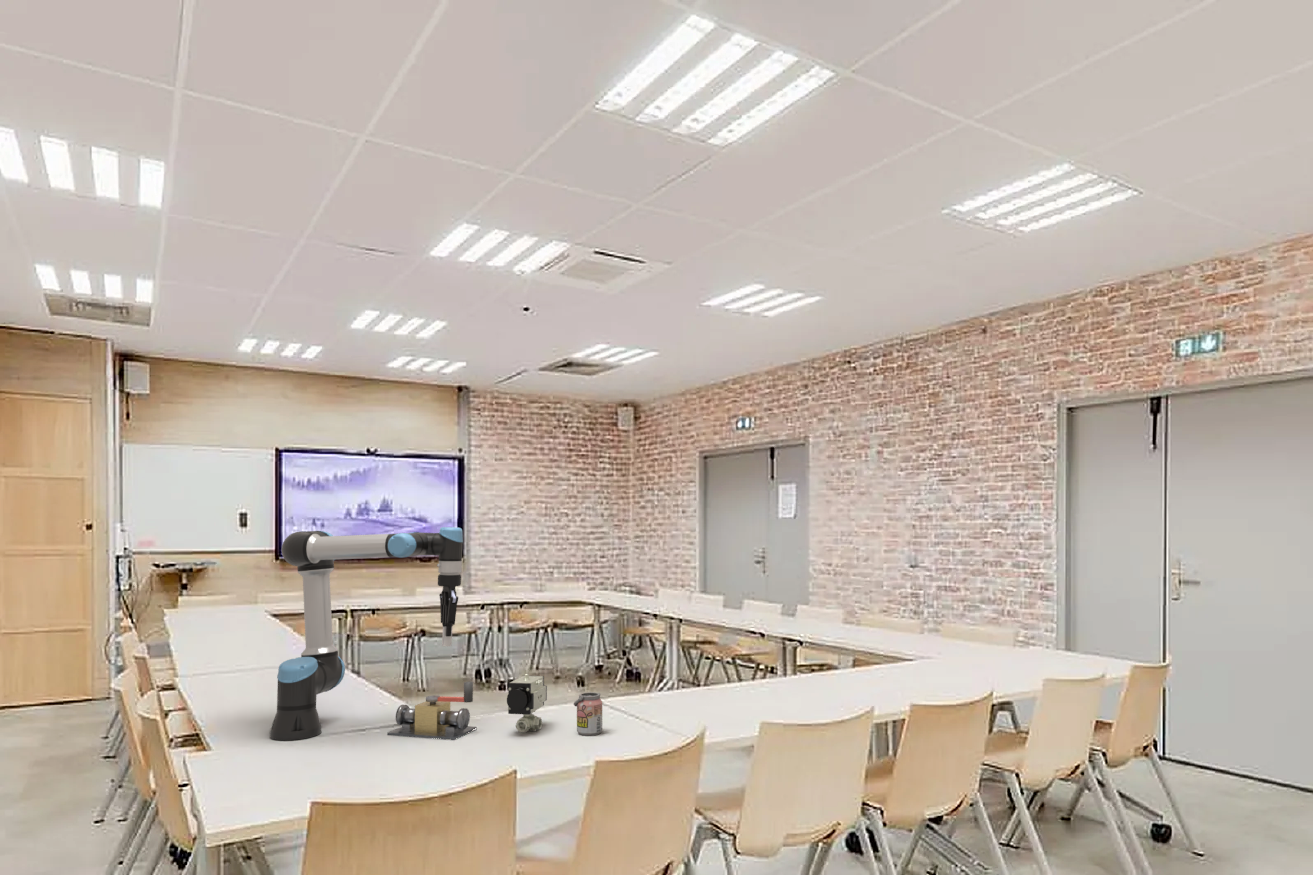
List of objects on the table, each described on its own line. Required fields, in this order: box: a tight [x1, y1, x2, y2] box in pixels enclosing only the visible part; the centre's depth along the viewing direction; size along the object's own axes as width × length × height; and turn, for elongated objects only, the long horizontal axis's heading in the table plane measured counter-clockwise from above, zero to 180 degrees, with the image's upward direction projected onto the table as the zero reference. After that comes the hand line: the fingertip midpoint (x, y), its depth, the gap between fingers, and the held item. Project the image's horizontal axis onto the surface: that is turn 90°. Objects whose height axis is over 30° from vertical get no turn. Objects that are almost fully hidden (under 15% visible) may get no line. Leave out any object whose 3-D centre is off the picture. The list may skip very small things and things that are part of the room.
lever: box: [425, 681, 474, 703], centre depth 274 cm, size 16×4×6 cm, turn 80°
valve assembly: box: [386, 701, 478, 741], centre depth 274 cm, size 24×14×10 cm, turn 73°
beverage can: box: [573, 691, 603, 737], centre depth 271 cm, size 9×8×12 cm
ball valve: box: [506, 673, 548, 734], centre depth 275 cm, size 18×8×18 cm, turn 168°
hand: (446, 646), depth 281 cm, fingers closed
